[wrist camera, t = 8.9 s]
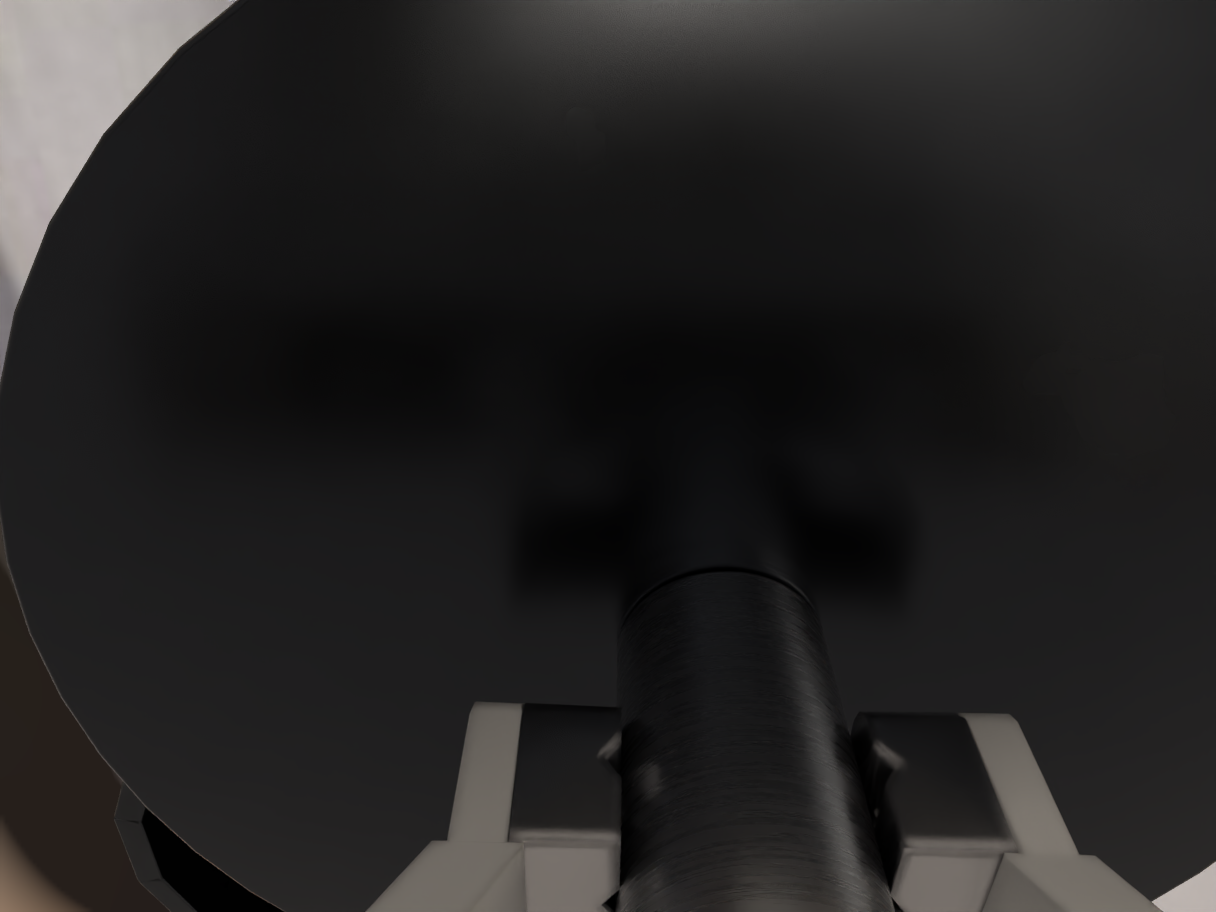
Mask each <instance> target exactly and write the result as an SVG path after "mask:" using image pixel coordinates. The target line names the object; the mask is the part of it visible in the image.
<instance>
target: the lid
mask: <svg viewBox="0 0 1216 912" xmlns="http://www.w3.org/2000/svg"><path fill="white" fill-rule="evenodd" d="M0 522H1V529H2V536H3V542H4V549H5V556H6V562H7V565H8V568H9V571H10V575H11V578H12V581H13V584H14V587H15V590H16V593H17V597H18V600H19V603H20V606H21V609H22V612H23V615H24V618H25V621H26V625H27V628H28V631H29V634H30V636H31V638H32V640H33V642H34V644H35V646H36V648H37V650H38V652H39V654H40V656H41V658H42V660H43V662H44V664H45V666H46V668H47V670H48V672H49V674H50V676H51V678H52V680H53V682H54V685H55V687H56V689H57V691H58V693H59V695H60V697H61V698H62V700H63V701H64V703H65V704H66V706H67V707H68V708H69V710H70V712H71V713H72V714H73V716H74V717H75V719H76V720H77V722H78V723H79V725H80V726H81V728H82V729H83V731H84V732H85V734H86V735H87V737H88V738H89V740H90V741H91V743H92V744H93V746H94V747H95V748H96V750H97V752H98V753H99V755H100V756H101V757H102V758H103V759H104V760H105V761H106V763H107V764H108V765H109V766H110V767H111V768H112V769H113V771H114V772H115V773H116V774H117V775H118V776H119V777H120V779H121V780H122V781H123V782H124V783H125V784H126V785H127V786H128V788H129V789H130V790H131V791H132V792H133V793H134V794H135V796H136V797H137V798H138V799H139V800H140V801H141V802H142V804H143V805H144V806H145V807H146V808H147V809H148V810H150V811H151V812H152V813H153V814H154V815H155V816H156V817H157V818H158V819H159V820H161V821H162V822H163V823H164V824H165V825H166V826H167V827H168V828H169V829H171V830H172V831H173V832H174V833H175V834H176V835H177V836H178V837H179V838H180V839H182V840H183V841H184V842H185V843H186V844H187V845H188V846H189V847H190V848H191V849H193V850H194V851H195V852H196V853H198V854H199V855H200V856H202V857H203V858H204V859H206V860H207V861H209V862H210V863H211V864H213V865H214V866H215V867H217V868H218V869H220V870H221V871H222V872H224V873H225V874H226V875H228V876H229V877H231V878H232V879H233V880H235V881H236V882H237V883H239V884H240V885H241V886H243V887H244V888H246V889H247V890H248V891H250V892H252V893H253V894H255V895H257V896H259V897H260V898H262V899H264V900H265V901H267V902H269V903H270V904H272V905H274V906H275V907H277V908H279V909H281V910H282V911H284V912H366V910H367V909H368V908H369V907H370V906H371V905H372V904H373V903H374V902H375V901H376V900H377V899H378V898H379V897H380V896H381V894H382V893H383V892H384V891H385V890H386V889H387V888H388V887H389V886H390V885H391V884H392V883H393V882H394V881H395V879H396V878H397V877H398V876H399V875H400V874H401V873H402V872H403V871H404V870H405V869H406V868H407V867H408V866H409V864H410V863H411V862H412V861H413V860H414V859H415V858H416V857H417V856H418V855H419V854H420V853H421V852H422V851H423V850H424V848H425V847H426V846H427V845H428V844H429V843H430V842H431V841H447V838H448V832H449V827H450V821H451V815H452V810H453V804H454V798H455V793H456V787H457V782H458V776H459V770H460V765H461V759H462V753H463V748H464V742H465V737H466V731H467V725H468V720H469V714H470V712H471V710H472V707H473V705H474V703H475V701H478V702H500V703H522V704H525V703H539V704H560V705H581V706H603V707H621V732H622V740H621V778H622V782H621V855H620V889H619V890H618V891H617V892H616V893H615V912H895V909H894V906H893V902H892V898H891V894H890V890H889V886H888V882H887V878H886V874H885V871H884V867H883V863H882V859H881V855H880V851H879V847H878V843H877V839H876V836H875V832H874V828H873V824H872V820H871V816H870V812H869V808H868V804H867V801H866V797H865V793H864V789H863V785H862V781H861V777H860V773H859V769H858V766H857V762H856V758H855V754H854V750H853V746H852V742H851V738H850V735H851V730H852V726H853V722H854V719H855V718H856V716H857V714H858V713H859V712H950V713H955V714H958V713H993V714H1010V715H1011V716H1012V717H1013V718H1014V719H1015V720H1016V721H1017V722H1018V724H1019V726H1020V728H1021V730H1022V732H1023V734H1024V737H1025V739H1026V741H1027V743H1028V745H1029V747H1030V749H1031V752H1032V754H1033V756H1034V758H1035V760H1036V762H1037V765H1038V767H1039V769H1040V771H1041V773H1042V775H1043V777H1044V780H1045V782H1046V784H1047V786H1048V788H1049V790H1050V793H1051V795H1052V797H1053V799H1054V801H1055V803H1056V806H1057V808H1058V810H1059V812H1060V814H1061V816H1062V818H1063V821H1064V823H1065V825H1066V827H1067V829H1068V831H1069V834H1070V836H1071V838H1072V840H1073V842H1074V844H1075V846H1076V849H1077V851H1078V853H1079V855H1093V856H1096V857H1097V858H1099V859H1100V860H1101V861H1102V862H1103V863H1105V864H1106V865H1107V866H1108V867H1110V868H1111V869H1112V870H1113V871H1114V872H1116V873H1117V874H1118V875H1119V876H1120V877H1122V878H1123V879H1124V880H1125V881H1126V882H1128V883H1129V884H1130V885H1131V886H1132V887H1134V888H1135V889H1136V890H1137V891H1138V892H1140V893H1141V894H1142V895H1143V896H1145V897H1146V898H1147V899H1148V900H1149V901H1151V902H1152V901H1153V900H1155V899H1157V898H1158V897H1160V896H1162V895H1163V894H1165V893H1167V892H1169V891H1170V890H1172V889H1174V888H1175V887H1177V886H1179V885H1180V884H1182V883H1184V882H1185V881H1187V880H1189V879H1190V878H1192V877H1194V876H1195V875H1197V874H1199V873H1200V872H1202V871H1203V870H1205V869H1206V868H1207V867H1209V866H1210V865H1211V864H1213V863H1214V862H1216V0H237V1H236V2H235V3H233V4H232V5H231V6H230V7H229V8H227V9H226V10H225V11H224V12H222V13H221V14H220V15H219V16H218V17H216V18H215V19H214V20H213V21H211V22H210V23H209V24H208V25H207V26H205V27H204V28H203V29H202V30H200V31H199V32H198V33H197V34H196V35H194V36H193V37H192V38H191V39H189V40H188V41H187V42H186V43H184V44H183V45H182V46H181V47H180V48H178V50H177V51H176V52H175V53H174V54H173V55H172V56H171V57H170V59H169V60H168V61H167V62H166V63H165V64H164V65H163V67H162V68H161V69H160V70H159V71H158V72H157V73H156V75H155V76H154V77H153V78H152V79H151V80H150V81H149V83H148V84H147V85H146V86H145V87H144V88H143V89H142V91H141V92H140V93H139V94H138V95H137V96H136V97H135V99H134V100H133V101H132V102H131V103H130V104H129V105H128V107H127V108H126V109H125V110H124V111H123V112H122V113H121V115H120V116H119V117H118V118H117V119H116V120H115V121H114V122H113V124H112V125H111V126H110V127H109V128H108V129H107V130H106V132H105V133H104V134H103V136H102V137H101V139H100V140H99V142H98V144H97V145H96V147H95V149H94V150H93V152H92V154H91V155H90V157H89V158H88V160H87V162H86V163H85V165H84V167H83V168H82V170H81V172H80V173H79V175H78V176H77V178H76V180H75V181H74V183H73V185H72V186H71V188H70V190H69V191H68V193H67V195H66V196H65V198H64V199H63V201H62V203H61V204H60V206H59V208H58V209H57V211H56V213H55V214H54V216H53V217H52V219H51V221H50V222H49V225H48V227H47V230H46V232H45V235H44V237H43V240H42V243H41V245H40V248H39V250H38V253H37V255H36V258H35V260H34V263H33V266H32V268H31V271H30V273H29V276H28V278H27V281H26V283H25V286H24V289H23V291H22V294H21V296H20V299H19V301H18V304H17V307H16V309H15V312H14V316H13V321H12V326H11V332H10V337H9V342H8V347H7V352H6V357H5V362H4V367H3V372H2V377H1V382H0Z"/></svg>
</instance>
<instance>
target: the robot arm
mask: <svg viewBox="0 0 1216 912" xmlns="http://www.w3.org/2000/svg"><path fill="white" fill-rule="evenodd" d="M850 738H851V742H852V746H853V750H854V754H855V758H856V762H857V766H858V769H859V773H860V777H861V781H862V785H863V789H864V793H865V797H866V801H867V804H868V808H869V812H870V816H871V820H872V824H873V828H874V832H875V836H876V839H877V843H878V847H879V851H880V855H881V859H882V863H883V867H884V871H885V874H886V878H887V882H888V886H889V890H890V894H891V898H892V902H893V906H894V909H895V912H1163V911H1161V910H1160V909H1159V908H1158V907H1157V906H1155V905H1154V904H1153V903H1152V902H1151V901H1149V900H1148V899H1147V898H1146V897H1145V896H1143V895H1142V894H1141V893H1140V892H1138V891H1137V890H1136V889H1135V888H1134V887H1132V886H1131V885H1130V884H1129V883H1128V882H1126V881H1125V880H1124V879H1123V878H1122V877H1120V876H1119V875H1118V874H1117V873H1116V872H1114V871H1113V870H1112V869H1111V868H1110V867H1108V866H1107V865H1106V864H1105V863H1103V862H1102V861H1101V860H1100V859H1099V858H1097V857H1096V856H1093V855H1079V853H1078V851H1077V849H1076V846H1075V844H1074V842H1073V840H1072V838H1071V836H1070V834H1069V831H1068V829H1067V827H1066V825H1065V823H1064V821H1063V818H1062V816H1061V814H1060V812H1059V810H1058V808H1057V806H1056V803H1055V801H1054V799H1053V797H1052V795H1051V793H1050V790H1049V788H1048V786H1047V784H1046V782H1045V780H1044V777H1043V775H1042V773H1041V771H1040V769H1039V767H1038V765H1037V762H1036V760H1035V758H1034V756H1033V754H1032V752H1031V749H1030V747H1029V745H1028V743H1027V741H1026V739H1025V737H1024V734H1023V732H1022V730H1021V728H1020V726H1019V724H1018V722H1017V721H1016V720H1015V719H1014V718H1013V717H1012V716H1011V715H1010V714H993V713H958V714H955V713H950V712H859V713H858V714H857V716H856V718H855V719H854V722H853V726H852V730H851V735H850ZM621 740H622V732H621V707H603V706H581V705H560V704H539V703H525V704H522V703H500V702H478V701H475V703H474V705H473V707H472V710H471V712H470V714H469V720H468V725H467V731H466V737H465V742H464V748H463V753H462V759H461V765H460V770H459V776H458V782H457V787H456V793H455V798H454V804H453V810H452V815H451V821H450V827H449V832H448V838H447V841H431V842H430V843H429V844H428V845H427V846H426V847H425V848H424V850H423V851H422V852H421V853H420V854H419V855H418V856H417V857H416V858H415V859H414V860H413V861H412V862H411V863H410V864H409V866H408V867H407V868H406V869H405V870H404V871H403V872H402V873H401V874H400V875H399V876H398V877H397V878H396V879H395V881H394V882H393V883H392V884H391V885H390V886H389V887H388V888H387V889H386V890H385V891H384V892H383V893H382V894H381V896H380V897H379V898H378V899H377V900H376V901H375V902H374V903H373V904H372V905H371V906H370V907H369V908H368V909H367V910H366V912H615V893H616V892H617V891H618V890H619V889H620V855H621V782H622V778H621Z"/></svg>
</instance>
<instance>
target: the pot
mask: <svg viewBox="0 0 1216 912" xmlns="http://www.w3.org/2000/svg"><path fill="white" fill-rule="evenodd" d="M114 821H115V823H116V826H117V828H118V831H119V834H120V836H121V838H122V841H123V844H124V846H125V849H126V851H127V854H128V856H129V859H130V861H131V864H132V866H133V869H134V872H135V874H136V877H137V879H138V880H139V882H140V883H141V884H142V885H143V886H144V887H145V888H146V889H147V890H148V891H149V892H150V893H151V894H152V895H154V896H155V897H156V898H157V899H158V900H159V901H160V902H161V903H162V904H163V905H164V906H165V907H166V908H167V909H168V910H169V911H170V912H284V911H282V910H281V909H279V908H277V907H275V906H274V905H272V904H270V903H269V902H267V901H265V900H264V899H262V898H260V897H259V896H257V895H255V894H253V893H252V892H250V891H248V890H247V889H246V888H244V887H243V886H241V885H240V884H239V883H237V882H236V881H235V880H233V879H232V878H231V877H229V876H228V875H226V874H225V873H224V872H222V871H221V870H220V869H218V868H217V867H215V866H214V865H213V864H211V863H210V862H209V861H207V860H206V859H204V858H203V857H202V856H200V855H199V854H198V853H196V852H195V851H194V850H193V849H191V848H190V847H189V846H188V845H187V844H186V843H185V842H184V841H183V840H182V839H180V838H179V837H178V836H177V835H176V834H175V833H174V832H173V831H172V830H171V829H169V828H168V827H167V826H166V825H165V824H164V823H163V822H162V821H161V820H159V819H158V818H157V817H156V816H155V815H154V814H153V813H152V812H151V811H150V810H148V809H147V808H146V807H145V806H144V805H143V804H142V802H141V801H140V800H139V799H138V798H137V797H136V796H135V794H134V793H133V792H132V791H131V790H130V789H129V788H128V786H127V785H126V784H125V783H124V782H123V783H122V787H121V791H120V795H119V799H118V803H117V807H116V811H115V815H114Z"/></svg>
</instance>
